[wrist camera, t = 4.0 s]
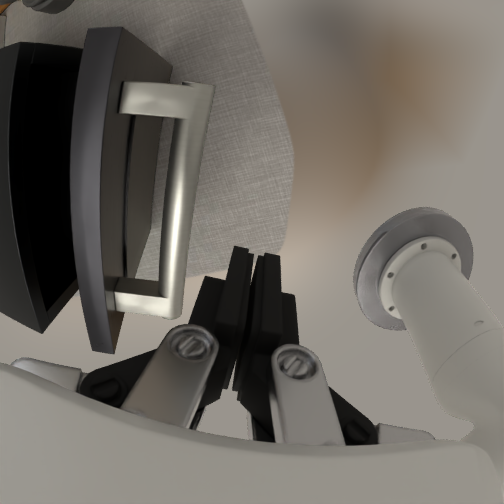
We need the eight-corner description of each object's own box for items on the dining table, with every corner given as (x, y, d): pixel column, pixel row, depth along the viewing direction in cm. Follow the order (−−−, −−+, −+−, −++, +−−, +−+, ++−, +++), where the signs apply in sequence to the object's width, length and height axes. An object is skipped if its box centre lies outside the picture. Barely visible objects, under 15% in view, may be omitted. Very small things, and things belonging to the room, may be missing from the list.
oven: (155, 65, 23) (19, 41, 7) (136, 227, 31) (42, 334, 15) (33, 72, 22) (-83, 90, 6) (29, 203, 30) (-64, 269, 15)
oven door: (216, 71, 24) (229, 34, 9) (187, 234, 32) (179, 362, 17) (156, 64, 22) (87, 28, 7) (137, 228, 31) (91, 351, 16)
